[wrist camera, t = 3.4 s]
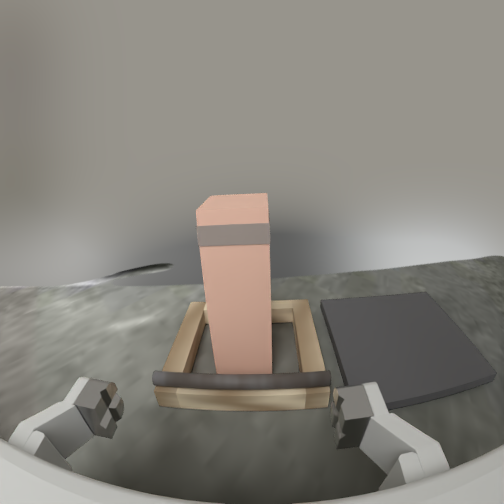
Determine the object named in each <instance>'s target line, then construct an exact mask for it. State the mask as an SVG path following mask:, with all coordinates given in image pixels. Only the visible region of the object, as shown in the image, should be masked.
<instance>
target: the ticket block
mask: <svg viewBox="0 0 504 504" xmlns="http://www.w3.org/2000/svg"><path fill="white" fill-rule="evenodd" d="M196 216H197V226H196V227H197V237H198V246H200V255H201V264H202V273H203V281H204V289H205V297H206V304H207V312H208V319H209V326H210V333H211V340H212V347H213V353H214V360H215V366H216V372H217V374H272V326H271V281H270V247H269V246H270V245H269V244H270V220H269V210H268V199H267V193H258V194H238V195H237V194H236V195H217V196H211V197H209V198H208V199H207V200H206V201H205V202H204V203H203V204H202V205H201V206H200V207H199V208H198V209H197V210H196Z"/></svg>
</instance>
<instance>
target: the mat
mask: <svg viewBox="0 0 504 504" xmlns="http://www.w3.org/2000/svg"><path fill="white" fill-rule="evenodd" d="M320 307H321V310H322V313H323V316H324V319H325V323H326V326H327V329H328V332H329V335H330V338H331V342H332V345H333V348H334V351H335V355H336V358H337V361H338V364H339V368H340V371H341V375H342V378H343V381H344V385H345V386H349V385H356V384H364V383H370V382H376V383H377V384H378V387H379V389H380V392H381V394H382V397H383V399H384V402H385V404H386V407H387V409H388V410H390V409H395V408H400V407H405V406H409V405H414V404H418V403H422V402H426V401H430V400H434V399H438V398H441V397H445V396H449V395H452V394H455V393H459V392H462V391H465V390H468V389H471V388H474V387H477V386H480V385H483V384H486V383H488V382H491V381H493V380H494V378H495V376H496V374H497V373H496V371H495V370H494V369H493V368H492V366H491V365H490V364H489V363H488V361H487V360H486V359H485V358H484V356H483V355H482V354H481V353H480V351H479V350H478V349H477V348H476V347H475V346H474V344H473V343H472V342H471V341H470V340H469V338H468V337H467V336H466V335H465V334H464V333H463V332H462V330H461V329H460V328H459V327H458V326H457V325H456V324H455V322H454V321H453V320H452V319H451V318H450V317H449V316H448V315H447V314H446V313H445V311H444V310H443V309H442V308H441V307H440V306H439V305H438V304H437V303H436V302H435V301H434V300H433V299H432V298H431V296H430V295H429V294H428V293H427V292H419V293H408V294H397V295H386V296H373V297H360V298H345V299H328V300H321V306H320Z"/></svg>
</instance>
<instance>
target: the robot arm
mask: <svg viewBox="0 0 504 504" xmlns="http://www.w3.org/2000/svg"><path fill="white" fill-rule="evenodd" d="M116 391H117V387H116V385H115V383H112V382H108V381H103V380H98V379H93V378H87V377H80V378H78V380H77V381H76V383H75V384H74V386H73V387H72V389H71V390H70V392H69V393H68V395H67V396H66V398H65V399H64V401H63V402H61V401H60V402H58V403H56V404H54V405H52V406H50V407H49V408H47V409H45V410H43V411H41V412H39V413H37V414H35V415H33V416H31V417H30V418H28V419H26V420H24V421H22V422H20V423H19V425H18V426H17V428H16V429H15V431H14V432H13V434H12V435H11V437H10V438H9V440H8V441H5V440H3V439H1V438H0V504H223V503H210V502H200V501H191V500H184V499H177V498H171V497H165V496H159V495H154V494H149V493H144V492H140V491H135V490H131V489H127V488H123V487H119V486H115V485H112V484H108V483H105V482H102V481H98V480H95V479H92V478H89V477H86V476H83V475H80V474H78V473H75V472H72V467H71V466H70V465H69V464H68V462H67V461H66V460H65V459H66V458H67V457H69V456H70V455H71V454H72V453H74V452H75V451H76V450H77V449H79V448H80V447H81V446H83V445H84V444H85V443H86V442H88V441H89V440H90V439H91V438H93V437H94V435H96V436H101V437H106V438H110V439H112V438H113V435H114V433H115V431H116V429H117V424H116V422H117V421H118V420H120V419H121V417H122V415H123V411H124V404H123V400H122V398H121V397H120V396H119V395H118V394H117V393H116ZM333 397H334V401H333V402H331V408H330V417H331V424H332V427H334V428H335V432H334V439H335V444H336V449H345V448H353V447H359V448H360V449H361V450H362V451H363V452H364V453H365V454H366V455H367V456H368V457H369V458H371V459H372V460H373V461H374V462H375V463H376V464H377V465H378V466H379V467H380V468H381V469H382V470H383V471H384V472H385V473H386V474H387V475H388V476H387V477H386V478H385V480H384V481H383V483H382V484H381V486H380V487H379V491H377V492H372V493H368V494H363V495H358V496H352V497H346V498H340V499H333V500H325V501H317V502H307V503H294V504H504V444H503V445H501V446H500V447H498V448H496V449H494V450H492V451H490V452H488V453H486V454H484V455H482V456H479V457H477V458H475V459H473V460H471V461H468V462H466V463H464V464H461V465H459V466H457V467H454V468H452V469H450V467H449V464H448V462H447V460H446V457H445V455H444V453H443V451H442V448H441V446H440V444H439V442H437V441H435V440H434V439H432V438H431V437H429V436H428V435H426V434H424V433H423V432H421V431H420V430H418V429H417V428H415V427H414V426H412V425H410V424H409V423H407V422H406V421H404V420H403V419H401V418H400V417H398V416H397V415H395V414H394V413H390V414H389V412H388V409H387V407H386V404H385V402H384V399H383V397H382V394H381V392H380V389H379V387H378V384H377V383H376V382H370V383H364V384H356V385H349V386H340V387H335V388H334V391H333Z"/></svg>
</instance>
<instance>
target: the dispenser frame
mask: <svg viewBox="0 0 504 504" xmlns="http://www.w3.org/2000/svg"><path fill="white" fill-rule="evenodd" d="M284 322H293V328H294V335H295V342H296V349H297V356H298V363H299V370H300V373H279V374H203V373H191V371H192V367H193V364H194V361H195V357H196V354H197V350H198V347H199V344H200V341H201V337H202V334H203V331H204V327H205V324H209V319H208V312H207V304H206V302H191V303H190V306H189V308H188V310H187V313H186V315H185V317H184V320H183V322H182V324H181V327H180V329H179V331H178V334H177V336H176V338H175V341H174V343H173V346H172V348H171V350H170V353H169V355H168V358H167V360H166V362H165V365H164V367H163V370H162V371H154V372H153V376H152V380H153V384H154V385H156V387H155V390H154V393H155V395H156V398H157V401H158V404H159V406H164V407H174V408H185V409H200V410H220V411H278V410H298V409H313V408H324V407H328V403H329V397H330V388H329V386H330V385H331V373H330V371H329V370H328V371H325V367H324V362H323V358H322V354H321V350H320V346H319V342H318V338H317V334H316V330H315V326H314V323H313V319H312V315H311V311H310V307H309V303H308V300H307V299H303V300H278V301H271V323H284Z"/></svg>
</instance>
